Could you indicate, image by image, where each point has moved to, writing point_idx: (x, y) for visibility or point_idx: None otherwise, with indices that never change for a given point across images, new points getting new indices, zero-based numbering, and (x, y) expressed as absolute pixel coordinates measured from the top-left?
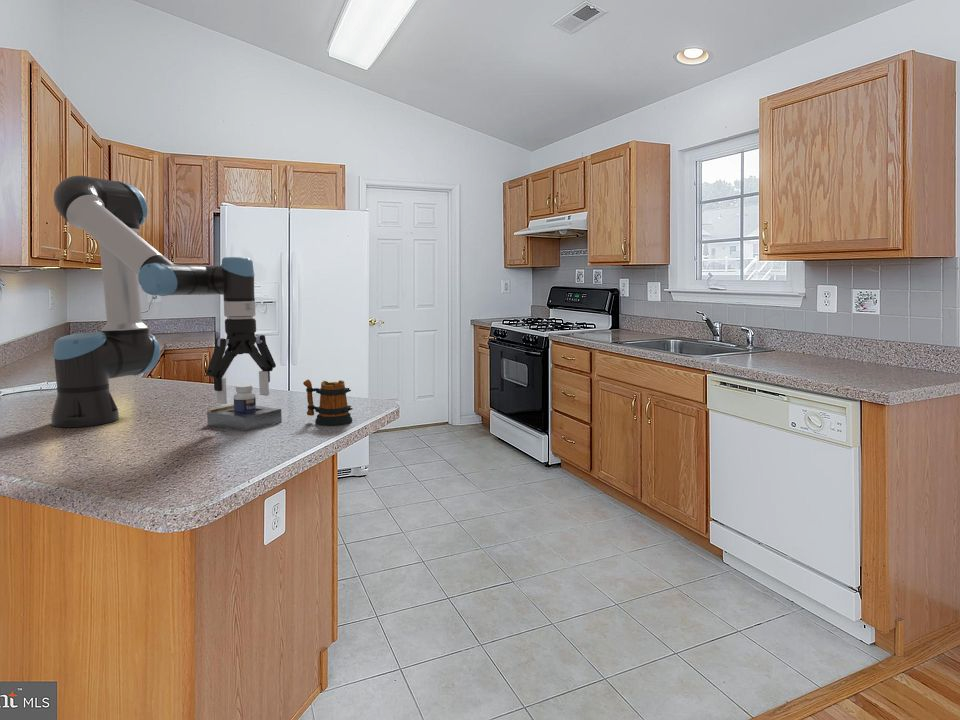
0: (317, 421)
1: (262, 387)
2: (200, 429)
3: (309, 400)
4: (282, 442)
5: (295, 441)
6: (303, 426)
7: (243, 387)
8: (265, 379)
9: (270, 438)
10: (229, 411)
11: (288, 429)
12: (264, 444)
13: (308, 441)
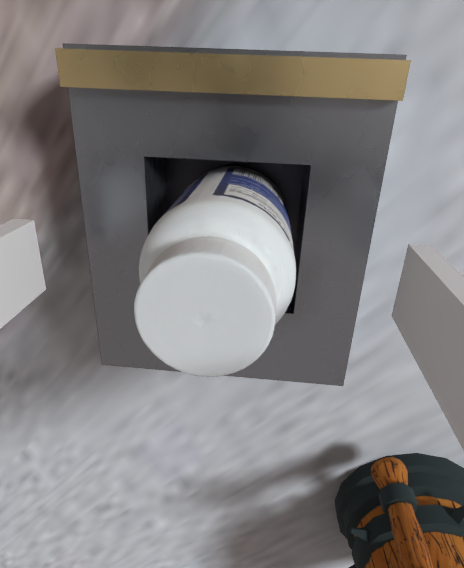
0: (344, 494)
1: (420, 306)
2: (22, 111)
3: (393, 536)
4: (98, 510)
5: (128, 530)
6: (299, 456)
7: (158, 354)
8: (438, 392)
9: (109, 462)
10: (174, 156)
11: (235, 440)
12: (52, 486)
13: (148, 553)
